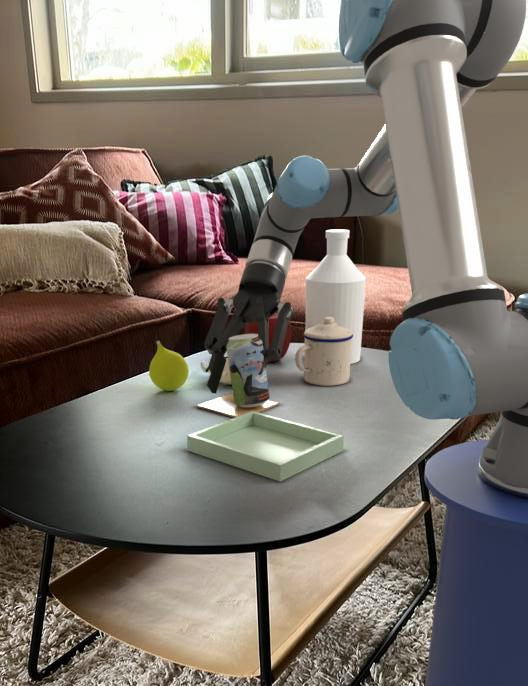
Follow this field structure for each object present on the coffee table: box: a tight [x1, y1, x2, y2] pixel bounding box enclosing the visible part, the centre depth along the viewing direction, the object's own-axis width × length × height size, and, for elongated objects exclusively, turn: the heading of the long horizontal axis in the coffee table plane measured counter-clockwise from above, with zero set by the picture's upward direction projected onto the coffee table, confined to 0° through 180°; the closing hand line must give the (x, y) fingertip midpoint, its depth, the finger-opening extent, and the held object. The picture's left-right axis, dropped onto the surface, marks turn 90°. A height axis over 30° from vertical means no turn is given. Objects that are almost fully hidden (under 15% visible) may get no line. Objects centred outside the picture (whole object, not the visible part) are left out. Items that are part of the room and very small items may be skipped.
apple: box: [244, 312, 293, 363], centre depth 155 cm, size 10×10×10 cm
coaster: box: [196, 392, 280, 418], centre depth 131 cm, size 10×10×1 cm
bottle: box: [305, 229, 367, 365], centre depth 153 cm, size 12×12×25 cm
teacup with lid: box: [294, 317, 353, 387], centre depth 141 cm, size 12×9×12 cm
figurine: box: [200, 355, 232, 385], centre depth 143 cm, size 7×6×12 cm
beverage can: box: [226, 333, 270, 408], centre depth 127 cm, size 6×7×12 cm
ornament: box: [148, 337, 189, 392], centre depth 138 cm, size 7×7×10 cm
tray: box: [186, 411, 345, 482], centre depth 111 cm, size 18×15×2 cm
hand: (229, 391), depth 126 cm, fingers open, 6 cm apart
